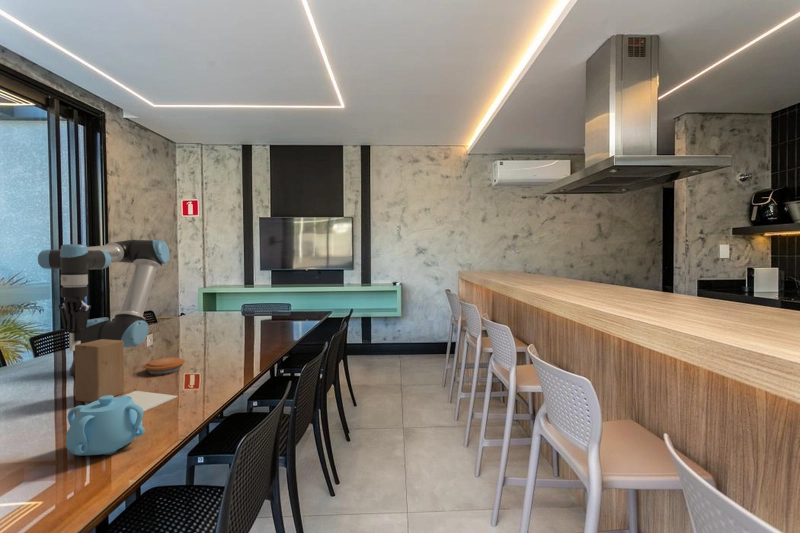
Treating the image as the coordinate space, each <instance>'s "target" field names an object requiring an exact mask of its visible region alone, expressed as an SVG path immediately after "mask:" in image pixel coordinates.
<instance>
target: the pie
mask: <svg viewBox="0 0 800 533" xmlns="http://www.w3.org/2000/svg"><path fill="white" fill-rule="evenodd" d="M185 362H186V360H185V359H183V358H180V357H176V356H175V357H162V358H156V359H152V360H151V361H149V362H148V363H145V364H144V365H143V368H144V369H145V370H146V371H147V372H148V373H149V374H150V375H152V374H153V376H161V375H162V374H164V375H169V374H168V373H170V374H173V372H174V373H176V371H177V372H178V371H180V370H181V368H182V367H183V365H184V363H185ZM162 376H163V375H162Z"/></svg>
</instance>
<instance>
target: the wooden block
mask: <svg viewBox="0 0 800 533" xmlns="http://www.w3.org/2000/svg"><path fill="white" fill-rule="evenodd" d="M124 349H125V347H124V342H123V341H122V340H108V339H100V340H96V341H91V342H87V343H82V344H77V345H75V350H74V357H75V376H74V383H75V387H74V388H75V390H74V391H75V394H74V396H75V398H74V399H75V401H76V402H84V403H85V402H86V403H92V402H94V401H97V400H98V399H99V398H100V397H103V396H107V395H112V396H114V397H119V396H121V395H123V394H124V393H125V381H124V380H125V377H124V376H125V375H124V373H125V372H124V371H125V365H124V364H125V363H124V361H125V360H124V359H125V357H124V356H125V355H124V353H125V352H124V351H125V350H124Z"/></svg>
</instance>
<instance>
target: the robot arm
mask: <svg viewBox="0 0 800 533" xmlns="http://www.w3.org/2000/svg"><path fill="white" fill-rule="evenodd" d="M170 255H171V254H170V250H169V247H168V244H167V242H165V241H163V240H157V239H151V240H150V239H126V240H119V241H114V242H108V243H106V244H104V245H96V246H88V245H86V244H75V243H74V244H72V243H71V244H65V243H64V244H62V245H61V246H60V249H44V250H42V251H40V252H39V253H38V256H37V263H38V265H39V267H41V268H42V269H46V270H47V269H49V270H60V286H62V287H60V297H61V298H63V303H61V304H58V309H59V311H60V316H61V323H62V327H63V331H67V333H68V341H69V342H68V343H69V351H71V352H75V345H77V344H82V343H87V342H91V341H96V340H100V339H108V340H122V341H123V342H124V349H125V348H136V347H138V346H140V345H142V344H143V343H144V341H146V338H147V336H148V334H149V324H148V323H147V322H146V317H144V312H145V310H146V307H147V306H146V305H147V303H148V299H149V297H150V293H151V290H152V286H153V283H154V280H155V276H156V273H157V271H159V270H161V269H162V265H163V264H164V265H165V264H167V263H168V262H169V260H170ZM113 263H127V264H128V263H129V264H133V265H134V266H135V268H134V271H133V273H132V277H131V280H130V282H129V286H128V288H127V291H126V294H125V297H124V301H123V304H122V306H121V309H120V312H119V313H116V314H115V315H114V317H113V320H110V318H109V317H104V316H103V317H98V318H97V317H96V318H92V319H89V314H90V311H91V309H92V306H91V304H89V305H88V304H87V303H86V302H87V301H86V298H85V297H87V296H88V295H89V288H88V285H89V274H88V270H102V269H107V268H108V267H110V265H111V264H113ZM69 375H70V376H74V377H75V356H74V358H73V360H72V363H71V366H70V368H69Z"/></svg>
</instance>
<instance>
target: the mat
mask: <svg viewBox="0 0 800 533" xmlns="http://www.w3.org/2000/svg"><path fill="white" fill-rule="evenodd" d="M125 395H128V396H130V397H131V398H132V400H133V401H134V403H135V404H136V405H139V406H140V407H142V409H143V413H144V412H147V411H149V410H151V409H153V408H156V407H158V406H160V405H162V404H165V403H168V402H169V401H171V400H174V399H175V398H178V395H172V394H164V393H158V392H157V393H156V392H148V391H143V390H142V391H141V390H140V391H139V390H134V391H132V392H130V393H126V394H125Z"/></svg>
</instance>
